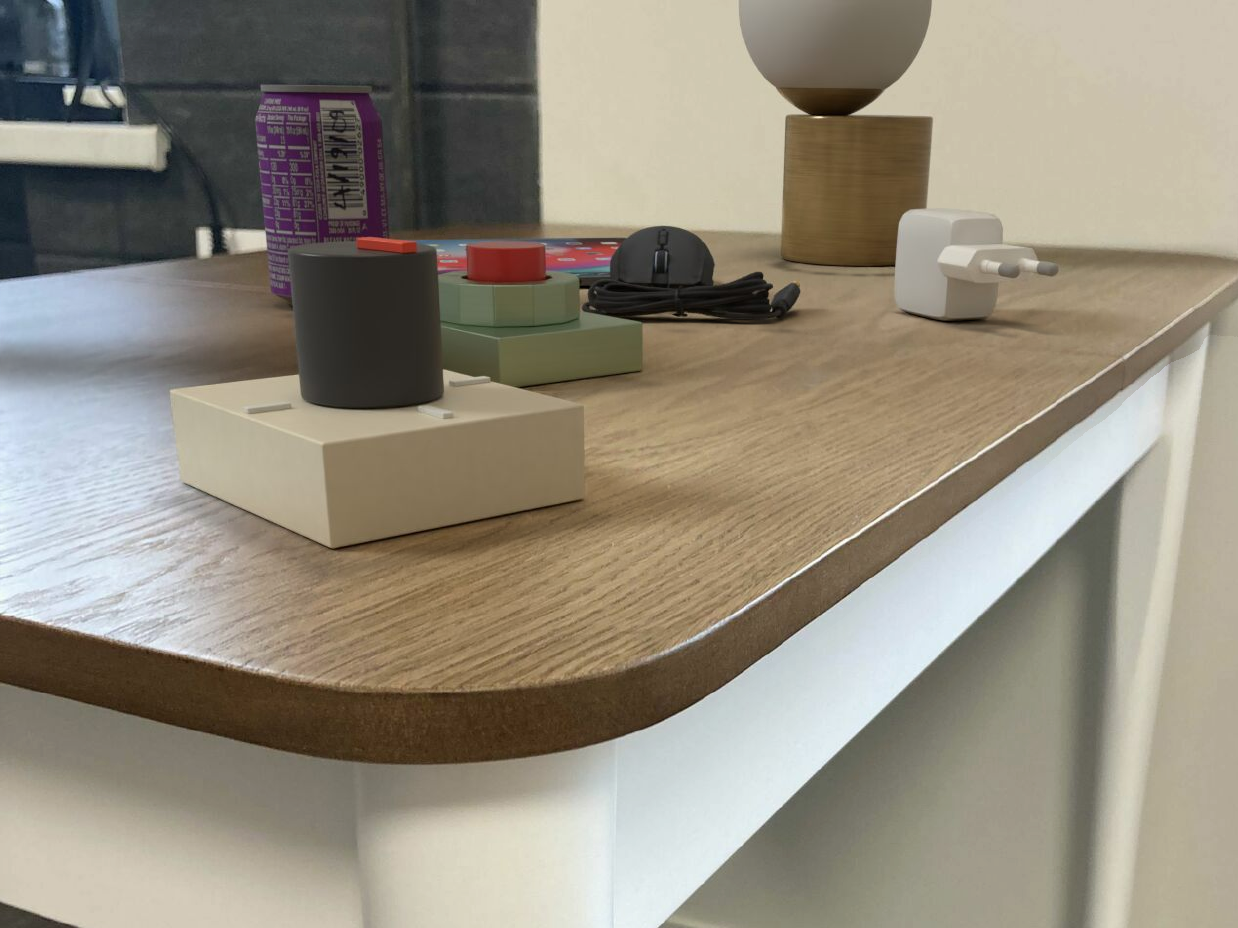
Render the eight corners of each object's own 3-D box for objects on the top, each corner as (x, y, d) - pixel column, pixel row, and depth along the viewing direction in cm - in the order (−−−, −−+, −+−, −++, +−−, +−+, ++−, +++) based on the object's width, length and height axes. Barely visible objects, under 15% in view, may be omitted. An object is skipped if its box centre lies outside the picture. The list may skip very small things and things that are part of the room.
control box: (179, 481, 48) (167, 384, 47) (417, 444, 54) (412, 356, 52) (331, 549, 41) (321, 437, 40) (586, 499, 47) (584, 398, 45)
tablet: (430, 290, 94) (430, 277, 94) (392, 250, 116) (392, 239, 116) (716, 285, 99) (716, 272, 99) (628, 247, 121) (628, 237, 121)
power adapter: (1065, 333, 81) (1078, 221, 79) (993, 338, 79) (1004, 223, 77) (948, 307, 90) (956, 206, 88) (881, 311, 88) (887, 207, 86)
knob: (271, 395, 46) (256, 237, 44) (381, 377, 49) (371, 228, 47) (363, 415, 43) (351, 247, 41) (473, 394, 46) (466, 237, 45)
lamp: (778, 272, 107) (792, -123, 97) (705, 253, 119) (711, -100, 109) (959, 266, 112) (990, -110, 102) (872, 248, 124) (892, -89, 114)
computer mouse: (807, 285, 98) (810, 221, 96) (794, 327, 82) (797, 252, 80) (624, 279, 99) (624, 216, 97) (576, 320, 83) (575, 246, 81)
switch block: (380, 359, 70) (374, 272, 69) (517, 343, 75) (515, 262, 74) (500, 390, 64) (496, 294, 62) (643, 370, 68) (643, 281, 67)
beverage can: (410, 298, 91) (397, 86, 86) (367, 314, 85) (352, 86, 80) (301, 294, 92) (283, 85, 87) (251, 309, 86) (229, 84, 81)
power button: (452, 283, 68) (450, 243, 67) (516, 278, 70) (515, 239, 70) (497, 291, 66) (495, 250, 65) (561, 285, 68) (561, 245, 67)
